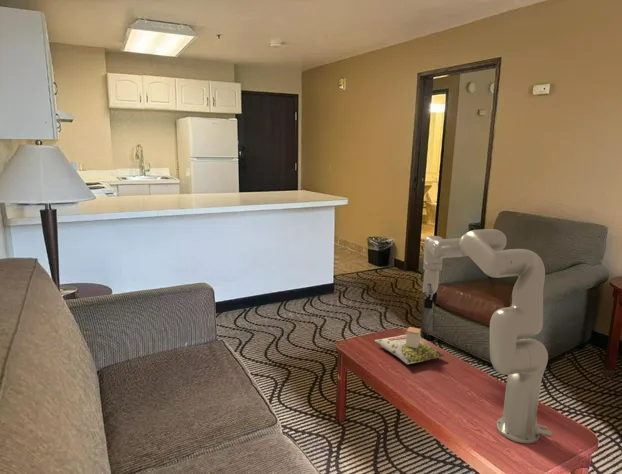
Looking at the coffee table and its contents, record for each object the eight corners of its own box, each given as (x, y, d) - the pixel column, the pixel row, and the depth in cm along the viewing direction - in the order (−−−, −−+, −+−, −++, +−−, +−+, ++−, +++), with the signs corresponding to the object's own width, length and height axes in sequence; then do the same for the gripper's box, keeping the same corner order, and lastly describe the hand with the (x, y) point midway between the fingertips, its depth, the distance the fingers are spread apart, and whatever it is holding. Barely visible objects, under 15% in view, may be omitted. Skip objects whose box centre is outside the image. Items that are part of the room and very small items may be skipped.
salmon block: (419, 343, 187) (421, 329, 186) (417, 348, 182) (418, 333, 181) (408, 341, 189) (409, 326, 188) (405, 345, 185) (406, 330, 183)
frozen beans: (408, 357, 173) (373, 334, 195) (406, 371, 174) (372, 346, 196) (446, 349, 182) (409, 328, 204) (445, 362, 183) (408, 339, 205)
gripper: (427, 260, 186) (425, 297, 189) (419, 269, 170) (416, 309, 173) (445, 262, 183) (442, 300, 186) (438, 271, 167) (435, 312, 170)
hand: (430, 304), depth 179 cm, fingers open, 9 cm apart
